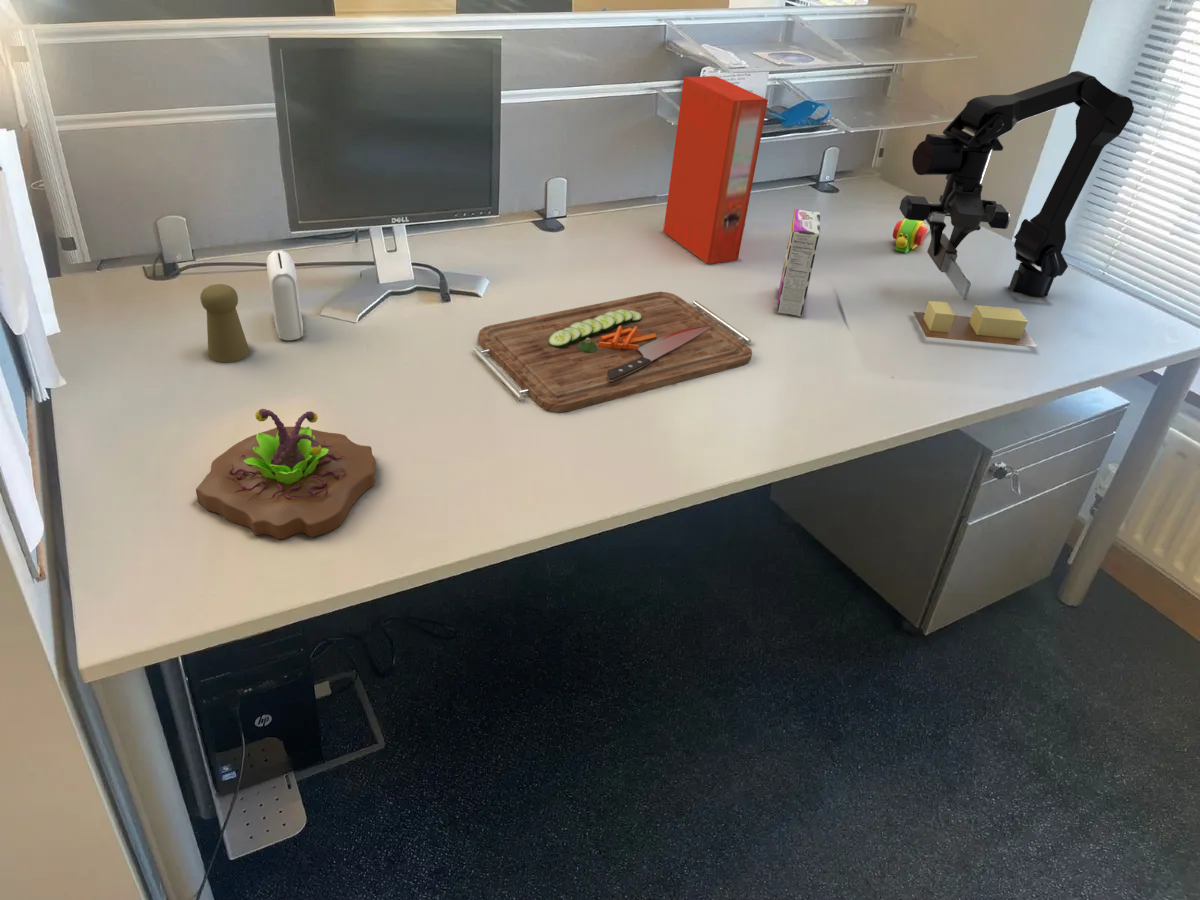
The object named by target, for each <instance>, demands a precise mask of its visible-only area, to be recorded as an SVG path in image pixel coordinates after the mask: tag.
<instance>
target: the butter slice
mask: <svg viewBox="0 0 1200 900" xmlns="http://www.w3.org/2000/svg"><path fill="white" fill-rule="evenodd" d="M924 313H925V314H924V318H923V319H924V321H925V322H926V324H927V326H928V328H929V330H930V331H938V332H949V331H950V328H951V325H952V322H953V319H954V316H956V313H955V312H954V310H953V309H952V307H951V306H950V304H949V303H948V302H945V301H936V300H935V301H934V300H928V302H927V305H926V309H925V312H924Z"/></svg>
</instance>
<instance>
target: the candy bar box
mask: <svg viewBox="0 0 1200 900" xmlns="http://www.w3.org/2000/svg"><path fill="white" fill-rule="evenodd" d="M792 216H793V217H792V219H791V225H790V229H789V236H788V240H787V244H786V250H785V254H784V255H785V256H784V259H783V265H782V271H781V277H780V282H779V289H778V296H777V307H776V313H777V314H778V315H784V316H791V317H799V318H802V317H803V313H804V308H805V304H806V299H807V295H808V290H809V285H810V280H811V276H812V271H813V266H814V262H815V257H816V252H817V247H818V242H819V238H820V233H821V212H820V211H813V210H809V209H801V208H794V211H793V215H792Z"/></svg>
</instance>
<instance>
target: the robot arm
mask: <svg viewBox="0 0 1200 900" xmlns="http://www.w3.org/2000/svg"><path fill="white" fill-rule="evenodd" d="M1073 103H1074V104H1075V105H1076V106H1077V107H1079V109H1078V112H1077V115H1076V118H1075V139H1074V142H1073V144H1072V146H1071V148H1070V150H1069V151H1068V154H1067V156H1066V157H1065V160H1064V162H1063V164H1062V166H1061V168H1060V169H1059V172H1058V174H1057V176H1056V178H1055V180H1054V183H1053V184H1052V186H1051V189H1050V191H1049V193H1048V195H1047V197H1046V199H1045V201H1044V204H1043V205H1042V207H1041V209H1040V210H1039V212H1038V213H1037V214H1036V215H1035V216H1033V217H1032V218H1031V219H1027V218H1024V219H1023V221H1021V224H1020V226H1019V229H1018V231H1017V233H1016V234H1015V235H1014V236H1013V239H1014V244H1013V247H1014V249H1015V260H1017V261H1018V262H1020V263H1019V265H1018V268H1017V269H1015V270H1014V272H1013V274H1012V277H1011V280H1010V283H1009V285H1007V286H1006V289H1007V290H1011V291H1012V293H1016V294H1021V295H1024V296H1027V297H1031V298H1042V297H1046V296H1047V297H1048V296H1049V292H1050V290H1051V288H1052V286H1053V282H1054V280H1055V279H1056V278H1057V277H1062V276H1063V275H1064V273H1065V272H1066V270H1067V269H1068V268H1069V266H1068V262H1067V261H1066V259H1065V257H1064V255H1063V254H1062V252H1063V248H1064V247H1065V243H1066V240H1067V225H1066V223H1067V220H1068V218H1069V216H1070V215H1071V212H1072V210H1073V208H1074V206H1075V204H1076V202H1077V200H1078V198H1079V196H1080V194H1081V193H1082V190H1083V188H1084V187H1085V184H1086V182H1087V180H1088V178H1089V176H1090V175H1091V173H1092V171H1093V169H1094V167H1095V165H1096V163H1097V161H1098V159H1099V157H1100V155H1101V153H1102V151H1103V149H1104V148H1105V146H1107V145H1108V144H1109V143H1111V142H1112V141H1114V139H1116V138H1117V137H1120V135H1121V133H1122V132H1123V130H1124V129H1125V127H1126V126H1127V125H1128V123H1129V121H1130V120H1131V118H1132V116H1133V114H1134V111H1135V106H1134V103H1133V100H1132V98H1130V97H1129V96H1127V95H1124V94H1120V93H1119V92H1115V91H1113V90H1112V89H1110V88H1108V87H1107V86H1106V85H1104V84H1103V83H1102V82H1100V80H1098V78H1097V77H1096V76H1093V75H1092V74H1088V73H1085V72H1083V71H1080V70H1076V71H1071V72H1069V73H1067V75H1065V76H1061V77H1059V78H1056V79H1055V78H1054V79H1053V80H1050V81H1047V82H1044V83H1041V84H1038V85H1035V86H1032V87H1029V88H1027V89H1023V90H1021V91H1017V92H1015V93H1010V94H987V95H981V96H975V97H974V98H972V99H970V100H968V101H967V102H966V105H965V106H964V108H963V109H962V110H961V111H960V112H959V113H958V114H957V116H956V117H954V119H953V120H952V121H951V122H949V124H948V125H947V126H946V127H945V129H943V131H942V134H935V133H926V135H925V138H924V140H922V141H921V142H919V143H918V144H917V146H916V147H915V149H914V150H913V152H912V159H911V160H912V161H911V162H912V168H913V171H914V172H915V173H916V175H918V176H945V179H946V183H945V185H944V189H943V192H942V194H941V195H939V198H938V199H939V204H938V203H930V202H929V200H927V198H926V197H925V196H920V195H910V194H906V195H905V196H904V197H902V199H901V201H900V205H899V208H898V209H899V211H900V212H901V214H902V216H903V217H904V219H905V218H906V219H908V220H917V221H923V222H924V221H926V223H927V225H928V226H930V229H929V232H930V242H932V253H933V255H934V256H936V254H937V252H938V249H939V245H940V240H941V236H942V234H943V231H944V230H945V229H946V227H947V223H945V222H944V221H945V218H946V217H950V224H951V226H953V228H952V231H951V234H950V238H949V241H950V242H951V243H952V245H953V246H954V247H955V249H956V250H957V248H958V247H959V245H960V244H961V243H962V242H963V240H964V239H965V238H966V237H967V236H968V235H969V234H970V233H973V232H975V231H980V230H981V229H982V227H981V225H980V224H981V223H987V224H988V225H989V227H990V228H992V229H1000V230H1001V229H1002V230H1006V229H1008V227H1009V225H1010V221H1011V214H1010V212H1009V211H1008V210H1007V209H1006V208H1005V206H1003V204H1002V203H997V201H996V200H988V199H982V192H983V187H984V185H982V182H983V179H984V177H985V176H984V175H985V172H986V169H987V167H988V164H989V161H990V158H991V154H992V152H1002V151H1003V150H1004V145H1003V144H1002V143H1001V142H1000V140H999V137H1002V136H1003V135H1005V134H1007V133H1009V132H1010V131H1012V130H1013V129H1014V128H1015V127H1016V125H1017V124H1019V123H1020V122H1022V121H1024V120H1026V119H1029V118H1032V117H1035V116H1039V115H1041V114H1044V113H1048V112H1050V111H1053V110H1056V109H1059V108H1061V107H1064V106H1068V105H1071V104H1073ZM964 130H965V131H964ZM966 131H967V132H966ZM968 132H969V133H968ZM970 133H971V134H970ZM972 134H973V135H972Z"/></svg>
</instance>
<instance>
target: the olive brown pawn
mask: <svg viewBox="0 0 1200 900" xmlns="http://www.w3.org/2000/svg"><path fill="white" fill-rule="evenodd" d="M199 298H200V303H201V305H202V308H203V309H204V310H205V311H206V330H207V333H206V334H207V354H208V358H209V359H210V360H212V361H214V362H217V363H235V362H238V361H241V360H243V359H246V358H247V357H248V356H249V355H250V352H251V350H250V347H249V345H248V341H247V338H246V335H245V332H244V329H243V327H242V323H241V320H240V317H239V314H238V311H237V306H238V304H239V296H238V292H237V291H236V289H235V288H234V287H232V286H231V285H229V284H224V283H215V284H211V285H208V286H206V287H204V288H203V289H202V291H201V292H200V297H199Z"/></svg>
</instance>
